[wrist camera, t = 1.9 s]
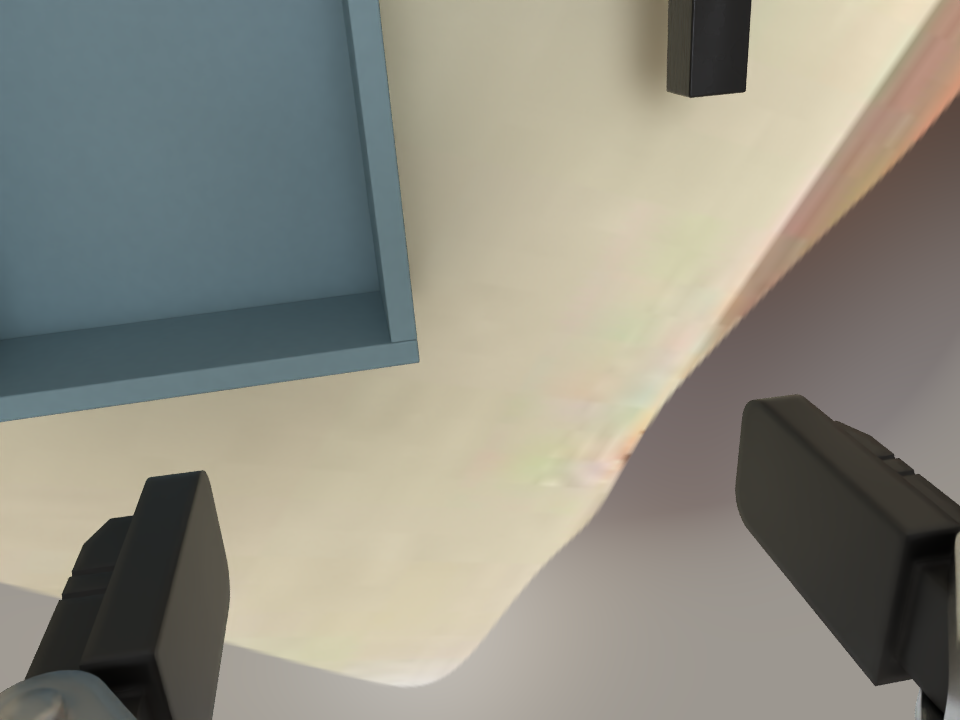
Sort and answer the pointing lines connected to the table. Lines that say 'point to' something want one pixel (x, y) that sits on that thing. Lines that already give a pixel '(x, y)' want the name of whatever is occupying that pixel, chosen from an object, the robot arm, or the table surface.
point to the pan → (707, 47)
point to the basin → (194, 200)
